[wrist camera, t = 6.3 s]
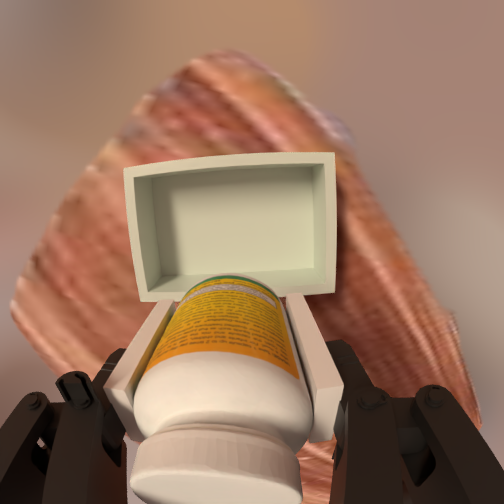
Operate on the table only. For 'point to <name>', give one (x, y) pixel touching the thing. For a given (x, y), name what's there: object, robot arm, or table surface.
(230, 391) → the supplement bottle
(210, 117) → the table surface
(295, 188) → the bin
